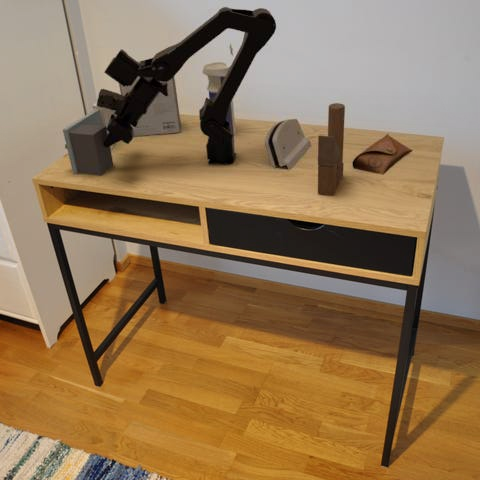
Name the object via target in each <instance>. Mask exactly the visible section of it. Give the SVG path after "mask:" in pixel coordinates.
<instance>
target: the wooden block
mask: <svg viewBox="0 0 480 480" xmlns="http://www.w3.org/2000/svg"><path fill="white" fill-rule="evenodd" d="M327 113H328V116H327V117H328V119H327V120H328V121H327V135H318V138H317V139H318V141H317V143H318V145H317V147H318V148H317V165H318V166H317V194H318V195H322V196H330V197H331V196H334V194H335V191H336V190H337V186H339V184H340V182H341V181H342V178H343V176H344V162H343V160H344V159H343V158H344V136H345V135H344V134H345V113H346V106H345V104H343V103H340V102H336V103H335V102H334V103H331V104H329V105H328V111H327Z"/></svg>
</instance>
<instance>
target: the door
mask: <svg viewBox="0 0 480 480" xmlns="http://www.w3.org/2000/svg"><path fill="white" fill-rule="evenodd" d="M82 124H85V125H97V126H103V121H102V116H101V111H100V109H95V110H94V109H93V110H92V111H90V112H89V113H88V114H86V115H83V116H82V117H81V118H79V119H78V120H76V121H75V122H73V123H71V124H69V125H68V126H65V127H64V128H63V129H62V133H63V136H64V141H65V144H64V148H65V149H66V150H67V152H68V154H67V155H68V159H69V161H70V166H71V170H72V174H75V175H78V174H79V173H78V169H77V165H76V161H75V157H74V152H73V148H72V144H71V140H70V136H69V132H71V131H73V130H74V129H76V128H77V127H79V126H81V125H82Z"/></svg>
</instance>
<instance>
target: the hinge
mask: <svg viewBox="0 0 480 480" xmlns="http://www.w3.org/2000/svg"><path fill="white" fill-rule="evenodd" d="M300 124H301V123H299V120H298V119H297V118H289V119H286V120H281V121H279V122H277V123H276V124H275V125H273V126H272V127H271V128H270V129H269V130H268V132H267V134H266V137H264V138H265V139H264V147H265V149H266V153H267V157H268V160H269V164H270V167H271V169H274V168H277V167H278V166H279V167H283V166H287V170H288V171H291V170H292V169H293V167H295V165H296V164H297V163H298V162H299V161H300V159H302V157H303V156H304V155H305V154H306V153H307V151H308V150H309V149H311V148H312V143H311V140H310V139H309V138H308V137H306V136H305V134H304V131H303V129H302V127H301V125H300Z"/></svg>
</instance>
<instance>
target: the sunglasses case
mask: <svg viewBox="0 0 480 480" xmlns="http://www.w3.org/2000/svg"><path fill="white" fill-rule="evenodd" d="M389 134H390V133H387V134H385V136H384V137H381V138H380V139H378V140H377V141H375V142H374V143H373V144H372V145H370V146H369V147H368V148H366V149H364V150H362V152H361V153H359V154H358V155H357V156H356V157H355V158H354V159H353V160H352V168H353V170H358V171H364V172H368V173H372V174H376V175H377V174H378V175H384V174H385V173H386V172H387V171H388V170H389V169H390V168H391V167H392V166H394V165H395V163H398V161H399V160H401V159H402V158H403V157H405V156H406V155H408V154H410V153H411V152H412V151H413V149H411V148H409V147H407V146H406V145H404V144H403V143H401V142H399V140H396V139H395V138H394V137H391V136H390V135H389Z"/></svg>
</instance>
